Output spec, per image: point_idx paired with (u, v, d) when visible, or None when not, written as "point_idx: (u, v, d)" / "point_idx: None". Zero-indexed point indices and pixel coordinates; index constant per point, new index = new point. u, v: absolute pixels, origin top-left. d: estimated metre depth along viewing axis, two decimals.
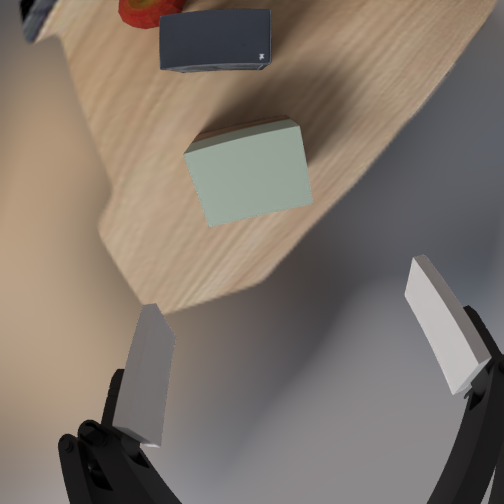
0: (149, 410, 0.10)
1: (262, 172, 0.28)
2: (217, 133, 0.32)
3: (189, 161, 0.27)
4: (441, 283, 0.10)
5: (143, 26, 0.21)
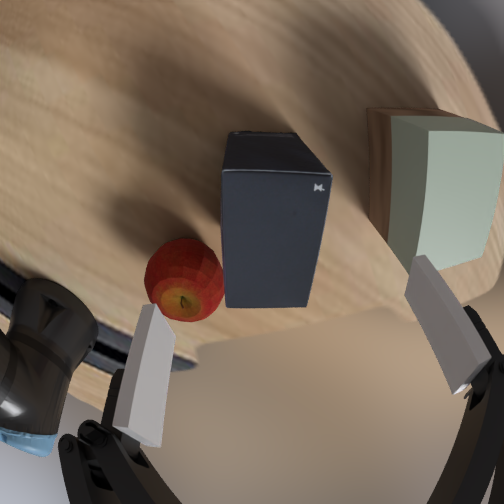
0: (149, 410, 0.10)
1: (464, 191, 0.15)
2: (382, 208, 0.24)
3: None
4: (441, 283, 0.10)
5: (223, 294, 0.26)
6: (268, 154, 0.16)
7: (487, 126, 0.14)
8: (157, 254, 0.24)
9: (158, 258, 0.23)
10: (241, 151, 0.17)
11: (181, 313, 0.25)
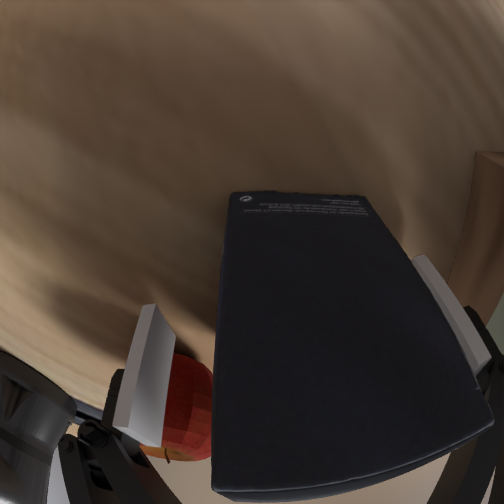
0: (149, 410, 0.10)
1: None
2: None
3: None
4: (441, 283, 0.10)
5: None
6: (349, 344, 0.05)
7: None
8: None
9: None
10: (267, 322, 0.06)
11: (168, 456, 0.14)
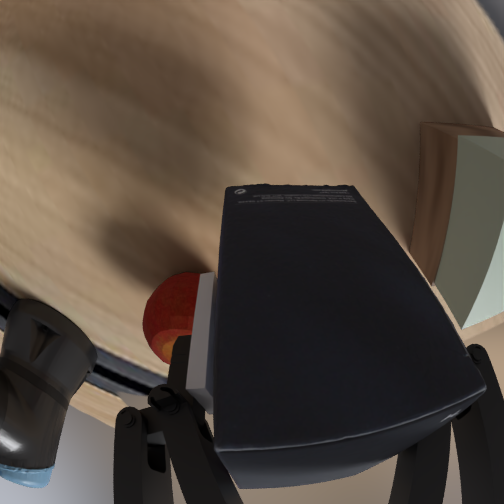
0: None
1: None
2: (430, 244, 0.18)
3: (472, 322, 0.14)
4: None
5: None
6: (337, 314, 0.06)
7: None
8: (157, 296, 0.19)
9: (158, 302, 0.19)
10: (261, 297, 0.06)
11: None
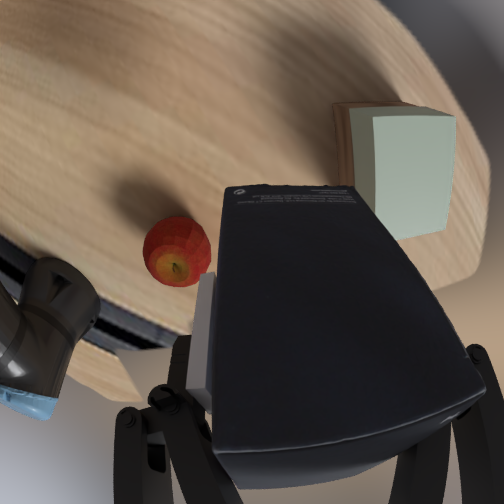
0: None
1: (415, 167, 0.20)
2: None
3: None
4: None
5: (209, 262, 0.30)
6: (337, 315, 0.06)
7: (440, 111, 0.19)
8: (154, 227, 0.28)
9: (155, 230, 0.28)
10: (260, 298, 0.06)
11: (173, 278, 0.29)
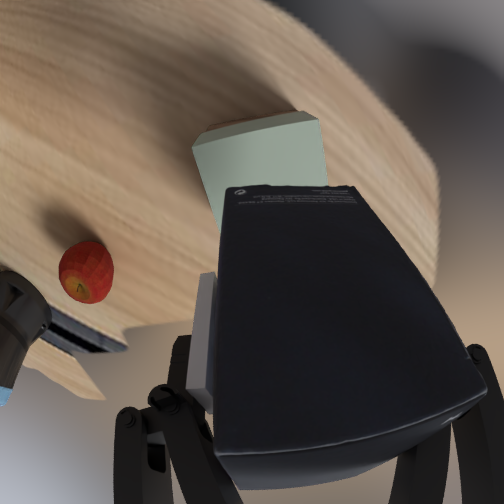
0: None
1: None
2: None
3: None
4: None
5: (108, 283, 0.31)
6: (338, 316, 0.06)
7: (307, 115, 0.19)
8: (64, 253, 0.29)
9: (64, 256, 0.28)
10: (262, 299, 0.06)
11: (80, 296, 0.30)
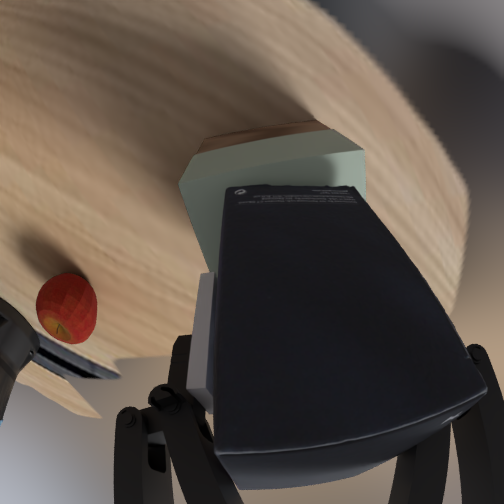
0: None
1: None
2: None
3: None
4: None
5: (90, 324, 0.25)
6: (338, 315, 0.06)
7: (344, 140, 0.13)
8: (41, 288, 0.23)
9: (40, 292, 0.23)
10: (262, 299, 0.06)
11: (61, 336, 0.24)
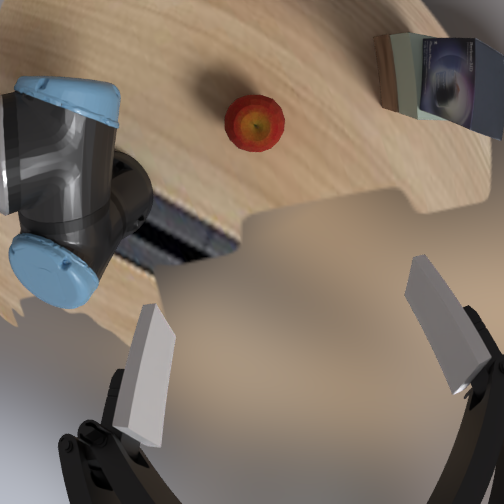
0: (149, 410, 0.10)
1: None
2: (390, 91, 0.31)
3: (423, 117, 0.27)
4: (441, 283, 0.10)
5: (283, 130, 0.33)
6: None
7: None
8: (238, 98, 0.31)
9: (241, 98, 0.31)
10: None
11: (253, 137, 0.32)
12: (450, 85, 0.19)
